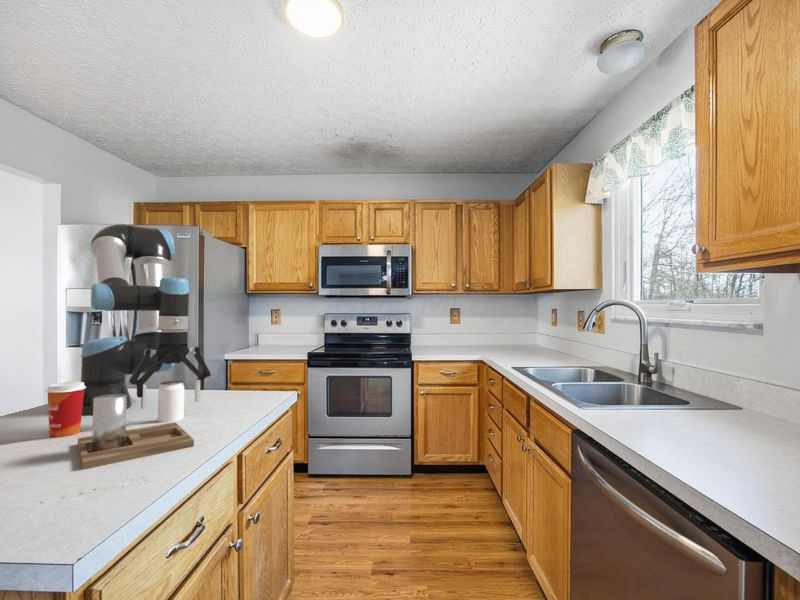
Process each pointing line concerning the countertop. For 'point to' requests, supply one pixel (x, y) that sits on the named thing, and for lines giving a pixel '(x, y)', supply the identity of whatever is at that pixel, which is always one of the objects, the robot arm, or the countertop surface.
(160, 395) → the can
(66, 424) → the paper cup
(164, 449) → the tray
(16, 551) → the countertop surface
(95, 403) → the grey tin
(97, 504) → the countertop surface
